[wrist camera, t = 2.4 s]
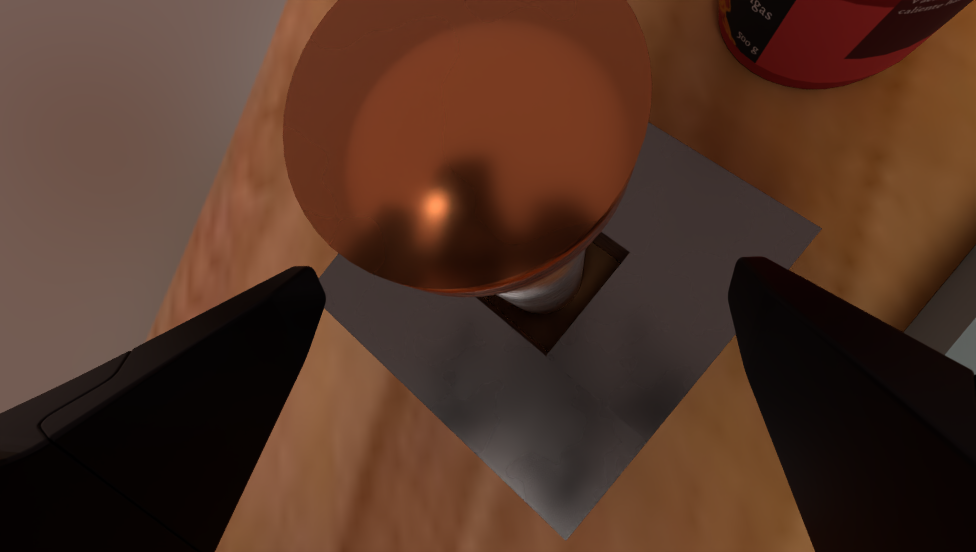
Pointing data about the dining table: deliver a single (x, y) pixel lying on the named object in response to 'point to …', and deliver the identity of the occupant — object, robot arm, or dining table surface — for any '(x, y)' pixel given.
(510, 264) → the hitch pin
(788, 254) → the block
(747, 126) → the dining table surface
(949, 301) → the tray
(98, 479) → the robot arm
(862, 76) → the canned food
